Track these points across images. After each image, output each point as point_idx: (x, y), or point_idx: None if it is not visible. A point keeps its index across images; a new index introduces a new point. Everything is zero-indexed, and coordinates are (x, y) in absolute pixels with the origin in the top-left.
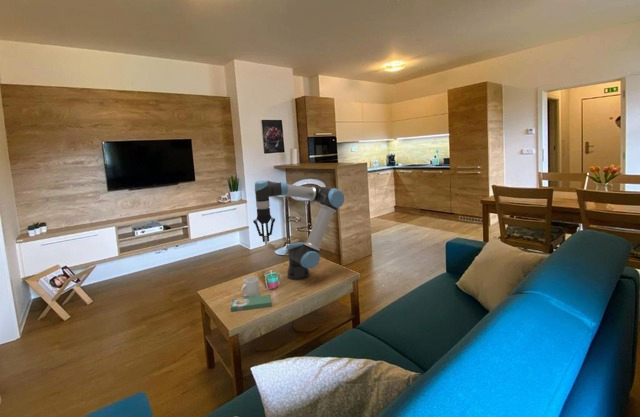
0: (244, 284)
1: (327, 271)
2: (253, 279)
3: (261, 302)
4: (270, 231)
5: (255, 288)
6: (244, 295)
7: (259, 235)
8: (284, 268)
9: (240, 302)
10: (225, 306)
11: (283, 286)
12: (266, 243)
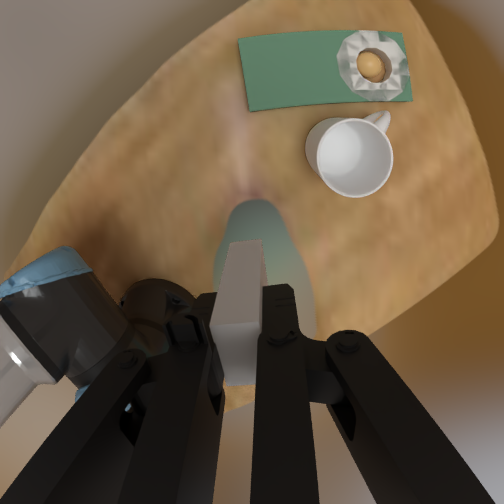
0: (382, 128)
1: None
2: (343, 190)
3: (282, 43)
4: (110, 400)
5: (324, 125)
6: (368, 118)
7: (360, 337)
8: None
9: (373, 55)
10: (424, 85)
11: (207, 226)
12: (238, 263)
